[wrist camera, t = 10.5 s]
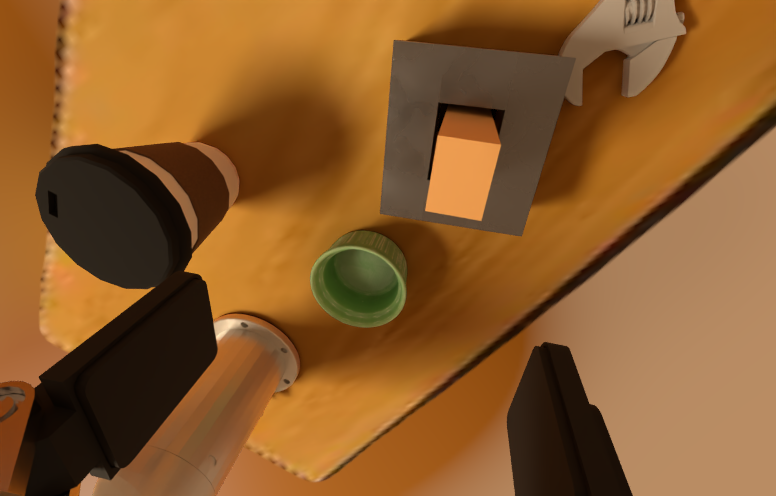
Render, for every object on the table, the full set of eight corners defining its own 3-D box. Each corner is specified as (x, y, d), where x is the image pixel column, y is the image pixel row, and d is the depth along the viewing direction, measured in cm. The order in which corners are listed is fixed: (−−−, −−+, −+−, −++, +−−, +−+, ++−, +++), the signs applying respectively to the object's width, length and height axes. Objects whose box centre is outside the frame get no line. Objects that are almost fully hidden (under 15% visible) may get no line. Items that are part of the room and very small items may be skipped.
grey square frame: (514, 209, 31) (521, 236, 27) (391, 191, 32) (379, 213, 28) (558, 55, 25) (576, 57, 21) (406, 40, 26) (393, 39, 22)
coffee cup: (151, 193, 37) (31, 250, 27) (165, 92, 32) (20, 115, 22) (247, 244, 38) (166, 318, 28) (278, 154, 33) (189, 205, 22)
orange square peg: (489, 106, 27) (501, 144, 17) (477, 159, 29) (481, 221, 19) (449, 101, 28) (438, 135, 17) (440, 153, 30) (424, 210, 19)
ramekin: (319, 285, 39) (303, 310, 35) (333, 212, 34) (317, 232, 31) (399, 311, 39) (391, 340, 35) (424, 241, 34) (418, 265, 30)
